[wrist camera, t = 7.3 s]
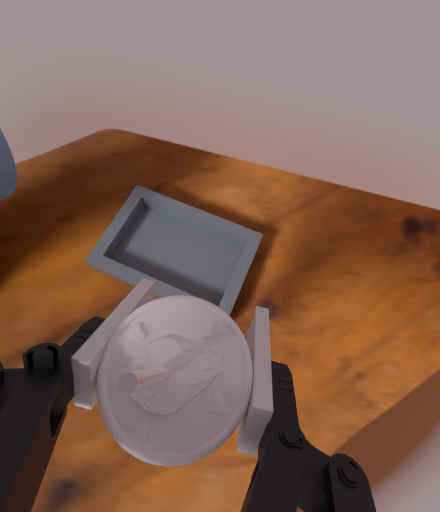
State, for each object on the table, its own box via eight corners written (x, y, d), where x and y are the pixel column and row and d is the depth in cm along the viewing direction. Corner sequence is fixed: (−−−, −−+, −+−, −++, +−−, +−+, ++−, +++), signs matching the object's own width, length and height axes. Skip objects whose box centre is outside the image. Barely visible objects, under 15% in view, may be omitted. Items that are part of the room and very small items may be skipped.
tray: (95, 269, 33) (84, 261, 30) (142, 197, 37) (137, 184, 34) (224, 328, 31) (225, 324, 28) (259, 244, 35) (263, 234, 32)
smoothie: (148, 329, 20) (28, 276, 7) (228, 315, 21) (250, 243, 8) (154, 423, 18) (-7, 593, 5) (244, 405, 18) (313, 516, 5)
